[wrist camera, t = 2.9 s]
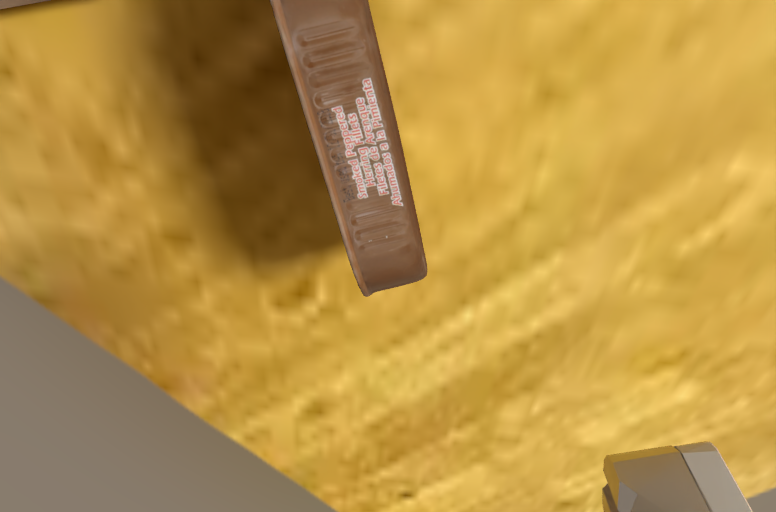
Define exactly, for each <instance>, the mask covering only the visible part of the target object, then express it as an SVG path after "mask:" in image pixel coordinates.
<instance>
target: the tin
mask: <svg viewBox="0 0 776 512" xmlns="http://www.w3.org/2000/svg"><path fill="white" fill-rule="evenodd" d="M270 2H271V5H272V8H273V12H274V17H275V19H276V23H277V27H278V31H279V32H280V36H281V40H282V43H283V47H284V50H285V54H286V57H287V60H288V63H289V66H290V69H291V73H292V76H293V80H294V83H295V86H296V89H297V93H298V96H299V99H300V102H301V105H302V109H303V112H304V116H305V119H306V122H307V125H308V129H309V131H310V134H311V137H312V141H313V145H314V147H315V150H316V153H317V157H318V160H319V163H320V167H321V170H322V173H323V176H324V180H325V183H326V186H327V189H328V192H329V196H330V199H331V203H332V206H333V209H334V212H335V215H336V219H337V222H338V225H339V228H340V232H341V235H342V238H343V242H344V245H345V248H346V252H347V255H348V258H349V261H350V265H351V267H352V270H353V273H354V276H355V278H356V280H357V283H358V286H359V288H360V289H361V291H362V293H363V295H364V296H366V297H367V296H370V295H371V294H372V293H374V292H377V291H381V290H386V289H390V288H394V287H398V286H402V285H406V284H410V283H413V282H416V281H419V280H421V279H423V278H424V277H425V276H426V275H427V263H426V258H425V253H424V248H423V243H422V238H421V233H420V228H419V224H418V219H417V214H416V210H415V205H414V200H413V195H412V191H411V186H410V182H409V177H408V172H407V167H406V163H405V158H404V153H403V148H402V144H401V139H400V135H399V130H398V126H397V121H396V117H395V113H394V109H393V104H392V100H391V96H390V91H389V87H388V83H387V79H386V75H385V71H384V67H383V63H382V58H381V54H380V50H379V46H378V42H377V37H376V33H375V29H374V25H373V20H372V16H371V12H370V8H369V3H368V0H270Z"/></svg>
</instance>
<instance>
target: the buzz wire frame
mask: <svg viewBox="0 0 776 512" xmlns="http://www.w3.org/2000/svg"><path fill="white" fill-rule="evenodd" d="M43 1H49V0H0V9H5V8H10V7H16V6H21V5H27V4H32V3H38V2H43Z"/></svg>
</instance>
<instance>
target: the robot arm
mask: <svg viewBox="0 0 776 512" xmlns="http://www.w3.org/2000/svg"><path fill="white" fill-rule="evenodd" d="M603 471H604V474H605V476H606V479H607V482H608V484H607V485H606V486H605V487H604V488H603V489H602V503H603V510H604V512H753V511H752V509H751V508H750V506H749V504H748V503H747V501H746V499H745V497H744V495H743V493H742V492H741V490H740V488H739V486H738V485H737V483H736V481H735V479H734V478H733V476H732V474H731V472H730V470H729V469H728V467H727V465H726V463H725V462H724V460H723V458H722V456H721V455H720V453H719V451H718V449H717V448H716V447H715V446H714V445H713V444H712V443H711V442H706V441H705V442H699V443H692V444H686V445H680V446H665V447H658V448H652V449H645V450H639V451H632V452H625V453H619V454H612V455H606V457H605V459H604V468H603Z"/></svg>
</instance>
